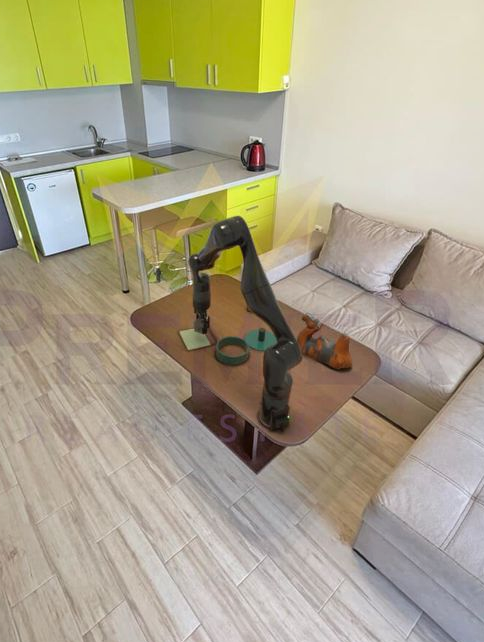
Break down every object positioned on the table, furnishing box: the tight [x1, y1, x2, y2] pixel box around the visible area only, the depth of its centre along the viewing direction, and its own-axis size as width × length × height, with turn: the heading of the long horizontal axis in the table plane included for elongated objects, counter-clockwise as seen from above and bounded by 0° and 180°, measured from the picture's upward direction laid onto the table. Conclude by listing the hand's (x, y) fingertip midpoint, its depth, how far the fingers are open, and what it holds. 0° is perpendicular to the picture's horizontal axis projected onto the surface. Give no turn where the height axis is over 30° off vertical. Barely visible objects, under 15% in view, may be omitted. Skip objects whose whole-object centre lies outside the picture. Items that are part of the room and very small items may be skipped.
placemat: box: [178, 327, 212, 351], centre depth 168 cm, size 14×14×1 cm
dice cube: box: [193, 318, 210, 335], centre depth 162 cm, size 5×5×5 cm
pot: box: [215, 335, 250, 366], centre depth 157 cm, size 14×14×5 cm
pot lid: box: [244, 327, 277, 352], centre depth 165 cm, size 15×15×7 cm
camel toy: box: [296, 312, 353, 370], centre depth 154 cm, size 25×13×17 cm, turn 37°
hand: (201, 328), depth 163 cm, fingers closed on dice cube, 7 cm apart
